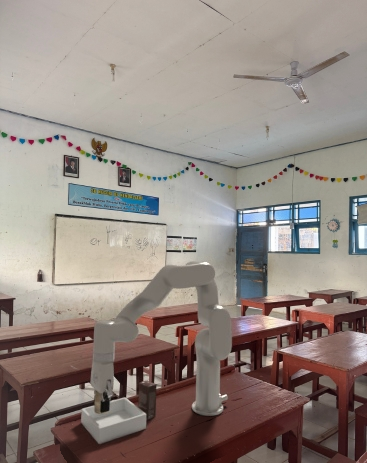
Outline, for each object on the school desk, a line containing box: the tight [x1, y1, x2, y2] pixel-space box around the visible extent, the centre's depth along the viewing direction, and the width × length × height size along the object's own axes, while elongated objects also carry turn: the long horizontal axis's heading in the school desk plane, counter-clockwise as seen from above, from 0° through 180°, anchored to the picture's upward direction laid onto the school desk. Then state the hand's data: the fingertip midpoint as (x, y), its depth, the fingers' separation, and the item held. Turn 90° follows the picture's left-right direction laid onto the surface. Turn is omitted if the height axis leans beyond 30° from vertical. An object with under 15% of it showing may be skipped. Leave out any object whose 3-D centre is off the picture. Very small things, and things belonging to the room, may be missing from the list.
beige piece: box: [93, 389, 108, 414], centre depth 121 cm, size 5×5×7 cm
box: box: [137, 380, 157, 420], centre depth 132 cm, size 6×4×12 cm
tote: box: [80, 397, 147, 445], centre depth 124 cm, size 18×17×5 cm
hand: (101, 407), depth 121 cm, fingers closed on beige piece, 5 cm apart
